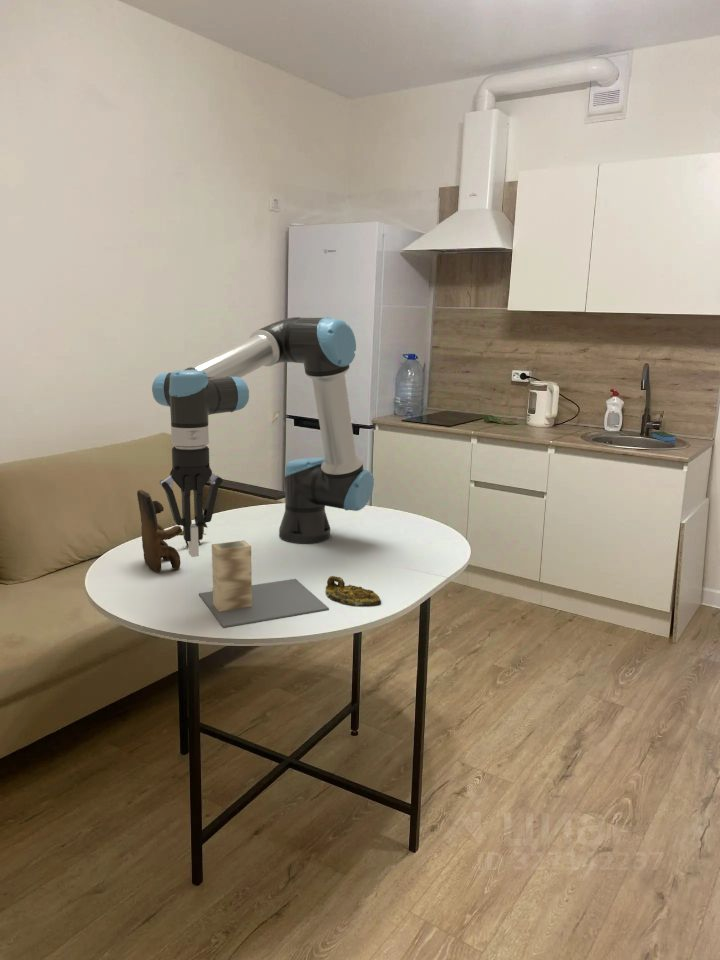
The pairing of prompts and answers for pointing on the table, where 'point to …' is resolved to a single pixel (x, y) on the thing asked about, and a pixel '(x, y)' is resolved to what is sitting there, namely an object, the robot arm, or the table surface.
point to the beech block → (232, 575)
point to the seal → (350, 593)
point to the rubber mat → (269, 603)
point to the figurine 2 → (198, 540)
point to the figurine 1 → (156, 534)
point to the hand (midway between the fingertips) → (193, 554)
